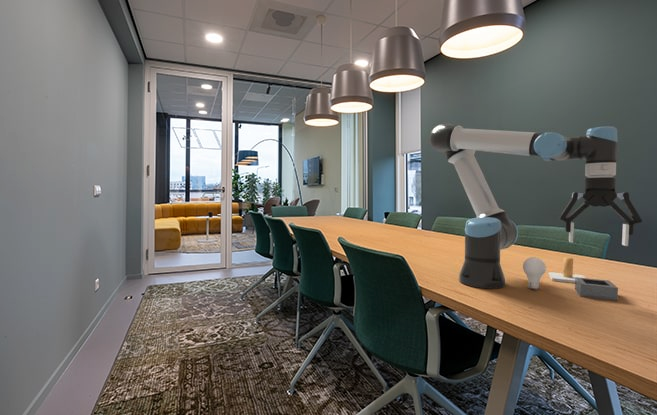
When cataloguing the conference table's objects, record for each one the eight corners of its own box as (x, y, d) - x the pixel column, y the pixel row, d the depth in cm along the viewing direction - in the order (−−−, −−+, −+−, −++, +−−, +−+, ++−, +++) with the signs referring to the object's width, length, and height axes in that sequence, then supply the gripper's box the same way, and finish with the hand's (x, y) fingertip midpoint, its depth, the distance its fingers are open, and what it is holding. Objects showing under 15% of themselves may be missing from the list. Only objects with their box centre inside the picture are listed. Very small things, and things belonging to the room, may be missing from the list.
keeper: (552, 280, 120) (552, 259, 120) (548, 274, 129) (549, 254, 129) (589, 284, 115) (590, 262, 115) (583, 277, 124) (583, 257, 123)
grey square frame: (580, 296, 103) (580, 284, 102) (574, 288, 111) (575, 277, 110) (617, 300, 98) (618, 287, 98) (608, 292, 106) (609, 280, 106)
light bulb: (543, 288, 111) (544, 256, 111) (547, 293, 105) (548, 260, 105) (521, 285, 114) (521, 254, 114) (523, 291, 108) (524, 258, 108)
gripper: (554, 177, 105) (551, 242, 106) (658, 175, 93) (654, 248, 95) (550, 178, 112) (548, 239, 113) (648, 176, 100) (644, 244, 101)
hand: (597, 243), depth 104 cm, fingers open, 13 cm apart
